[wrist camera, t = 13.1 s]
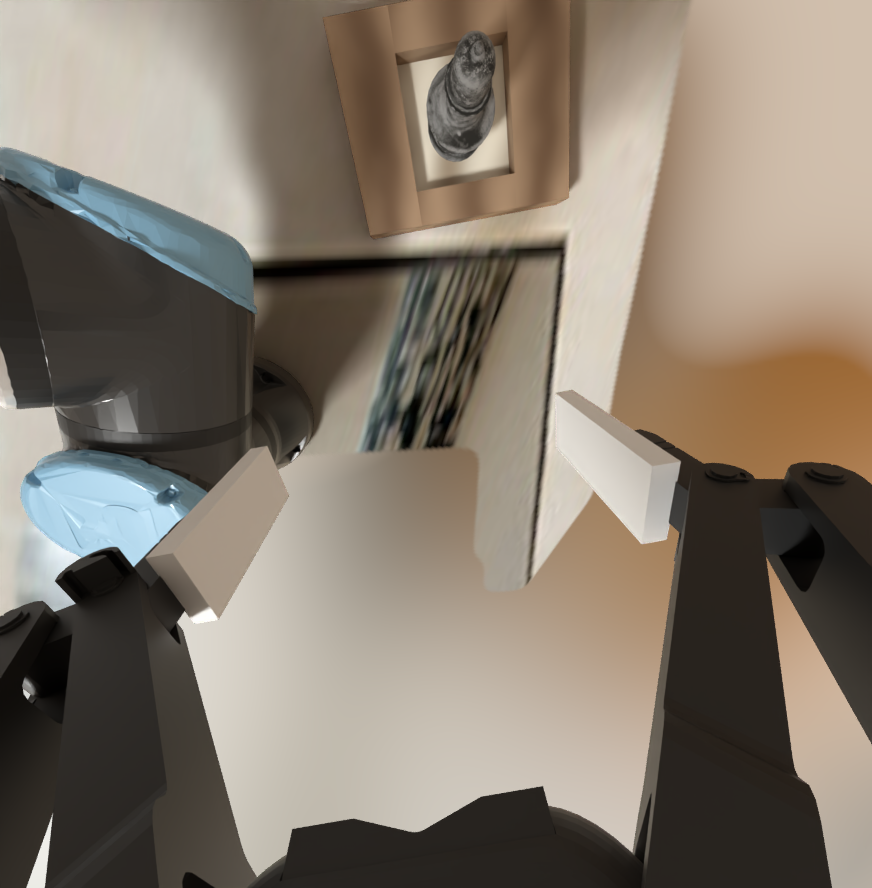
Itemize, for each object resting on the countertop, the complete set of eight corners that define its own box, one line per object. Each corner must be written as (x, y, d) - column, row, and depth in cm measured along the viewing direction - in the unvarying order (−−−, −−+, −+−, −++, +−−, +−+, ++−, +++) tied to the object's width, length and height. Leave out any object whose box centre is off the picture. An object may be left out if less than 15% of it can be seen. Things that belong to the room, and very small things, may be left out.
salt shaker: (448, 65, 30) (470, -60, 19) (499, 116, 31) (546, 28, 21) (412, 136, 31) (414, 59, 21) (462, 180, 33) (488, 130, 22)
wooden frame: (373, 239, 36) (370, 235, 33) (331, 43, 29) (322, 17, 27) (556, 204, 36) (568, 197, 33) (554, -1, 29) (570, -32, 26)
